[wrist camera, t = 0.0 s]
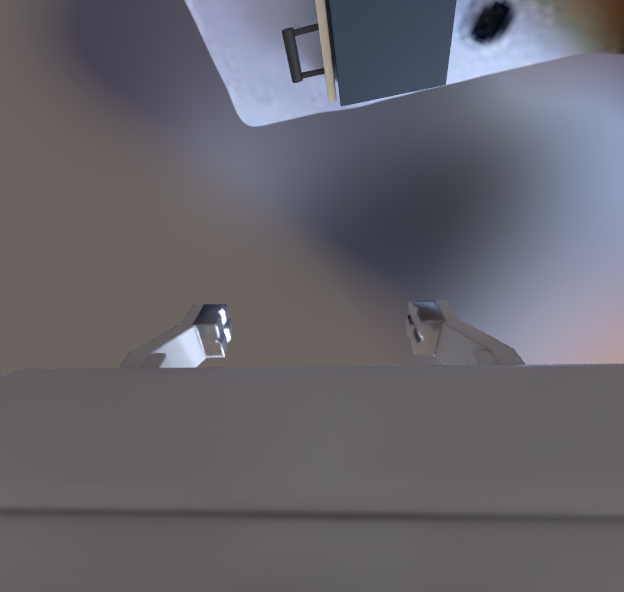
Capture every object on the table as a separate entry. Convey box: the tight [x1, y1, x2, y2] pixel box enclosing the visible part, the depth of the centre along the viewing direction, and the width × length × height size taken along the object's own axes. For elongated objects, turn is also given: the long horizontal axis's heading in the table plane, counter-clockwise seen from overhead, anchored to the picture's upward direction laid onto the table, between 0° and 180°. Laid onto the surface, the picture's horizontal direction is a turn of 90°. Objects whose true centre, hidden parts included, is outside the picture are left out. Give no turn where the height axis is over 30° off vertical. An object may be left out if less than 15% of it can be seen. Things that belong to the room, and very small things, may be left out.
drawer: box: [282, 0, 337, 102], centre depth 43 cm, size 19×12×8 cm, turn 101°
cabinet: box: [329, 0, 456, 106], centre depth 42 cm, size 15×13×10 cm
